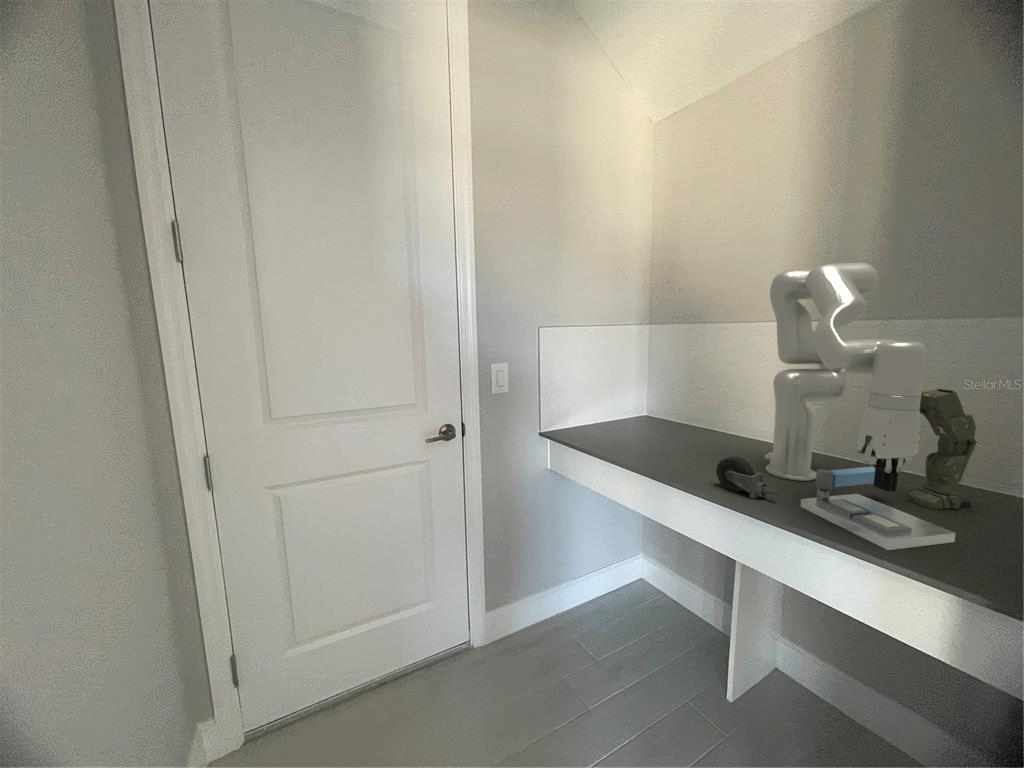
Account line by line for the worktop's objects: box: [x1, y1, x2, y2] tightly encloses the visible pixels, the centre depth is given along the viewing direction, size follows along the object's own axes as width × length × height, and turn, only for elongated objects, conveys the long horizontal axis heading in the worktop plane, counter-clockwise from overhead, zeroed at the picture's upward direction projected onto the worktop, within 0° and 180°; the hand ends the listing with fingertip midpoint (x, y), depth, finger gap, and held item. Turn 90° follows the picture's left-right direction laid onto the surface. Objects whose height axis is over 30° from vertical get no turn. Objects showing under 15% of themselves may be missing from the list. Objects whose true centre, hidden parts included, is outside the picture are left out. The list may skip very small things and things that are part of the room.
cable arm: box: [814, 466, 875, 491], centre depth 99 cm, size 20×4×4 cm, turn 100°
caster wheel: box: [715, 456, 779, 500], centre depth 107 cm, size 6×10×15 cm
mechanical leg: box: [908, 387, 977, 510], centre depth 97 cm, size 14×7×30 cm, turn 92°
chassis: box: [800, 487, 957, 551], centre depth 90 cm, size 20×16×5 cm
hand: (884, 488), depth 84 cm, fingers closed
